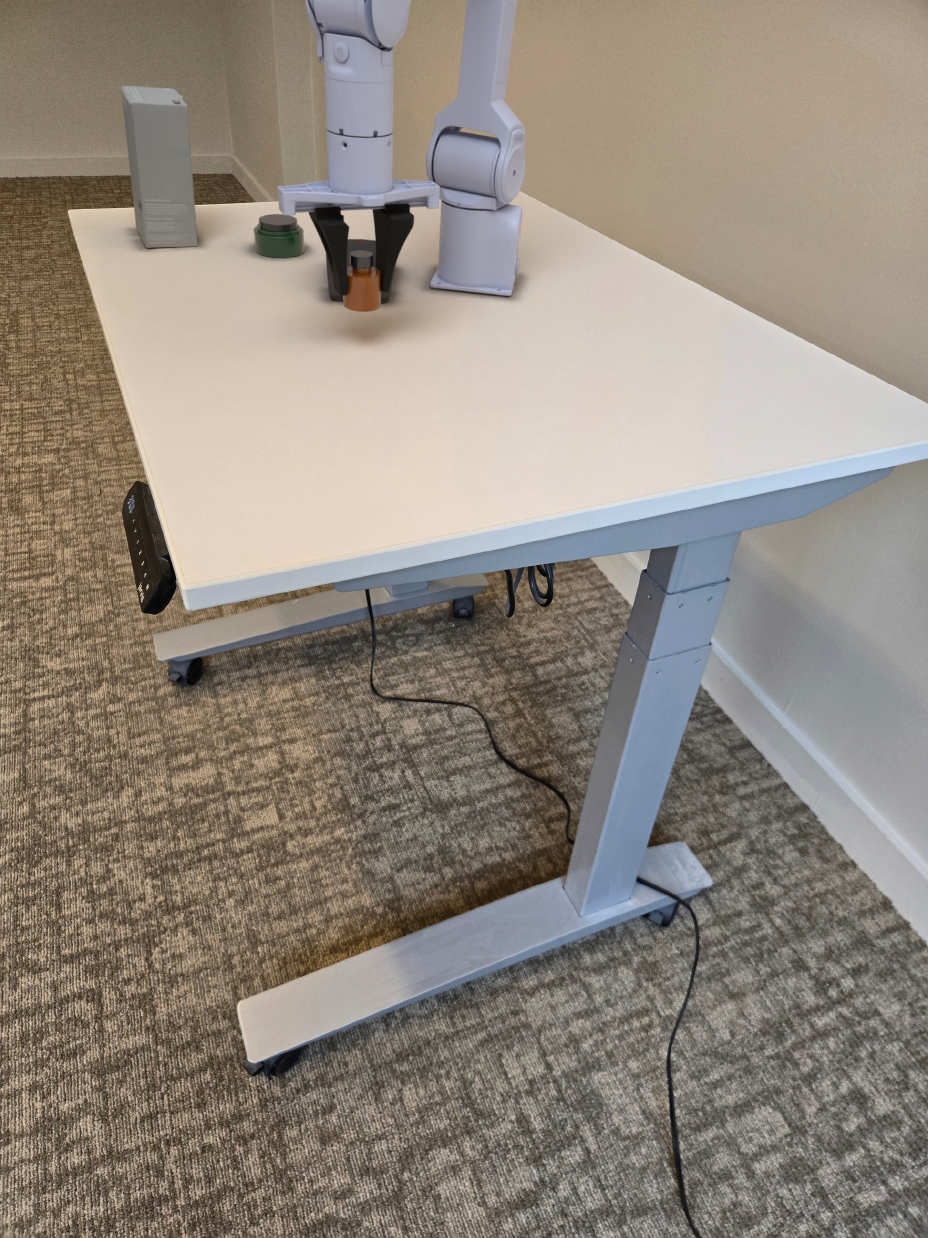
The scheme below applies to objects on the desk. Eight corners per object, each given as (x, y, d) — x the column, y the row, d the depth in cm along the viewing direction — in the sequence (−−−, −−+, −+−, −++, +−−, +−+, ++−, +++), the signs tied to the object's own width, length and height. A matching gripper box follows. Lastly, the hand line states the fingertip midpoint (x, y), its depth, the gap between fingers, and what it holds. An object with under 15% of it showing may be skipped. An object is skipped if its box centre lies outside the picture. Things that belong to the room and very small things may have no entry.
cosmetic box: (135, 229, 110) (111, 84, 100) (193, 226, 112) (175, 84, 102) (145, 250, 104) (120, 98, 94) (205, 246, 107) (188, 98, 96)
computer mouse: (396, 263, 106) (396, 229, 104) (395, 303, 96) (396, 266, 93) (329, 260, 106) (328, 225, 103) (322, 300, 95) (320, 263, 93)
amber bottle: (384, 300, 85) (384, 249, 82) (376, 313, 83) (376, 261, 80) (348, 296, 86) (347, 245, 83) (339, 309, 83) (338, 257, 80)
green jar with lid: (310, 245, 110) (308, 215, 107) (297, 260, 105) (295, 228, 103) (263, 240, 110) (261, 210, 108) (248, 254, 105) (245, 223, 103)
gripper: (287, 142, 69) (297, 311, 78) (455, 139, 74) (447, 298, 83) (267, 123, 74) (279, 284, 83) (425, 121, 79) (421, 274, 88)
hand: (361, 290), depth 83 cm, fingers closed on amber bottle, 3 cm apart
